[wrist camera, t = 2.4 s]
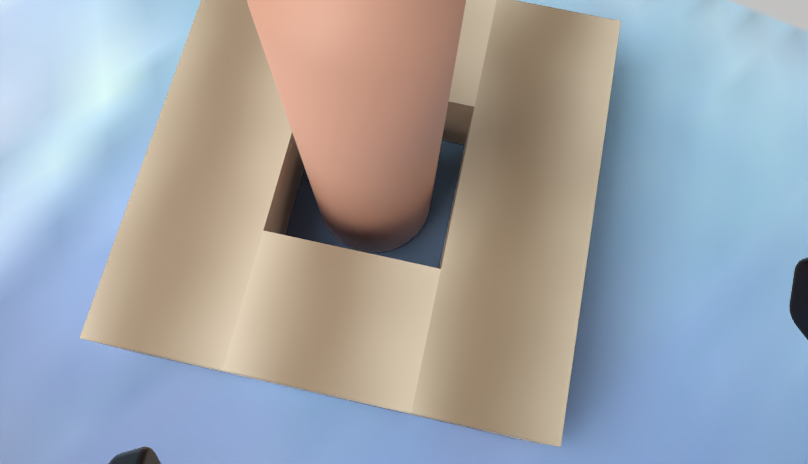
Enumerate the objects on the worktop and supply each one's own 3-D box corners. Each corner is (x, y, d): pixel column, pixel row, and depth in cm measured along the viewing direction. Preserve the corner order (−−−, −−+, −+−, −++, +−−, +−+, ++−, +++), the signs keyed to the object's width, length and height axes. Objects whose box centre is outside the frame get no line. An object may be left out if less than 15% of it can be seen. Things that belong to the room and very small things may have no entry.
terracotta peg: (440, 159, 23) (486, -92, 12) (417, 263, 22) (444, 96, 11) (334, 137, 24) (278, -132, 12) (306, 239, 23) (216, 50, 11)
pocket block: (593, 67, 25) (620, 21, 22) (537, 443, 21) (560, 446, 18) (241, -3, 25) (221, -58, 22) (121, 349, 21) (79, 337, 18)
